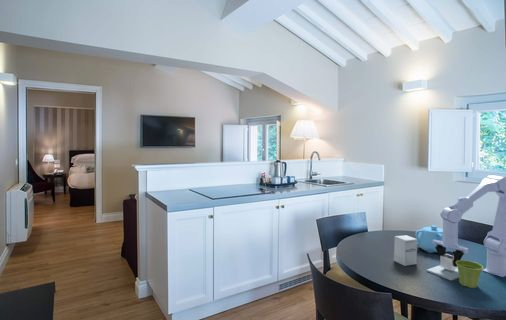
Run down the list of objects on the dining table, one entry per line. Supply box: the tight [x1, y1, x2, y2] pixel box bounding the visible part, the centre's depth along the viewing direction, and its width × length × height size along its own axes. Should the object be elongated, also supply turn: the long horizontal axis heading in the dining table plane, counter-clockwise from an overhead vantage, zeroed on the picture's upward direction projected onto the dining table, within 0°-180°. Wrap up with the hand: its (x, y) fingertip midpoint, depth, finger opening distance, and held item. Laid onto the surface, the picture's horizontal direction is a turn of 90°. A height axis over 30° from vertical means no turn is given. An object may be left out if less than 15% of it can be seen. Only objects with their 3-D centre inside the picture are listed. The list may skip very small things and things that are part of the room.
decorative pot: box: [414, 225, 451, 254], centre depth 168 cm, size 16×16×14 cm
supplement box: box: [393, 234, 418, 267], centre depth 151 cm, size 7×7×13 cm
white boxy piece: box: [439, 253, 458, 271], centre depth 140 cm, size 5×5×5 cm
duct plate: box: [426, 264, 459, 281], centre depth 141 cm, size 18×11×5 cm, turn 119°
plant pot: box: [456, 259, 484, 289], centre depth 128 cm, size 9×9×9 cm
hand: (449, 264), depth 140 cm, fingers closed on white boxy piece, 5 cm apart
